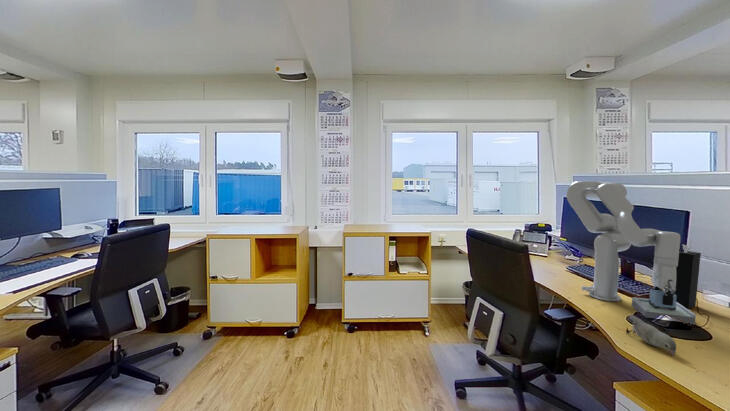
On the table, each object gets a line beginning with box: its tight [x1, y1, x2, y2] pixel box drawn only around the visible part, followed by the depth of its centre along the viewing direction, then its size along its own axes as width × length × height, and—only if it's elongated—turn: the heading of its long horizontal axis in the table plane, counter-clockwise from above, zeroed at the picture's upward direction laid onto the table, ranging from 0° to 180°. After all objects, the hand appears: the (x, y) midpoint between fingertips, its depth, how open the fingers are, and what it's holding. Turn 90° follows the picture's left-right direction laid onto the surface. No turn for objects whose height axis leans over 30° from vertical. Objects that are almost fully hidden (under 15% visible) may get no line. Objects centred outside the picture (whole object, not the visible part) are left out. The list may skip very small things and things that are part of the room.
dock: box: [631, 296, 697, 326], centre depth 140 cm, size 16×14×4 cm
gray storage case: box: [648, 288, 677, 311], centre depth 139 cm, size 8×5×7 cm, turn 69°
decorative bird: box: [626, 314, 677, 357], centre depth 115 cm, size 5×16×8 cm, turn 7°
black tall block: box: [667, 243, 702, 310], centre depth 150 cm, size 8×8×28 cm
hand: (662, 301), depth 139 cm, fingers open, 8 cm apart
